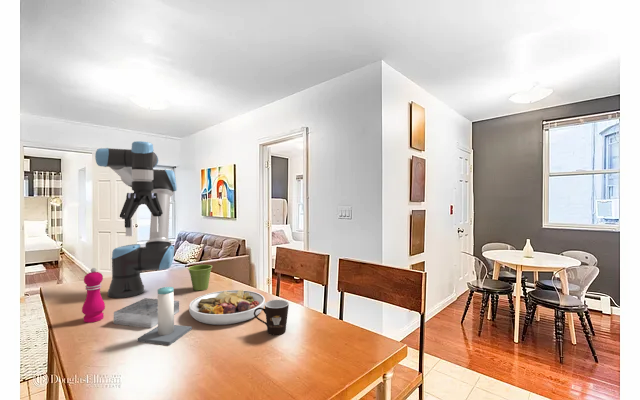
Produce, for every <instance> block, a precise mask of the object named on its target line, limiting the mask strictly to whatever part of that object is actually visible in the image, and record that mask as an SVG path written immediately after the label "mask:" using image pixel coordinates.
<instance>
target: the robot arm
mask: <svg viewBox="0 0 640 400" xmlns="http://www.w3.org/2000/svg"><path fill="white" fill-rule="evenodd" d="M94 157H95V158H94V159H95V163H96V165H97V166H98V167H103V168H110V169H111V170H112V171H113V172H114V173H116V175H117V176H119V177H120V179H121V181H122V183H123V184H125V186H128V187H130V188H131V190H132V191H133V192H127V193H126V197H125V201H124V203H123V206H122V209H121V211H120V214H119V217H120V218H121V219H122V220H124V228H125V237H134V219H133V217H134V215H135V213H136V211H137V210H138V208H139V207H140V206H142V205H146V207H147V209H148V210H149V212H150V227H149V239H148V240H147V241H146V242H145V246H141V245H140V243H135V244H127V245H121V246H118V247H115V248H114V249H113V250H112V254H111V281H110V284H109V288H108V289H107V297H108V298H112V299H120V298H121V299H123V298H130V297H134V296H139V295H140V294H143V293H144V292H145V286H144V284H143V280H142V277H141V272H144V271H146V272H147V271H162V270H168V269H170V268H171V267H172V264H173V260H174V257H175V256H174V255H175V246H174V245H172V242H171V241H170V240H169V232H170V229H169V228H170V225H169V224H170V211H171V210H170V209H171V208H170V207H171V197H172V196H173V195H174V192H177V190H178V189H177V188H178V186H177V180H176V174H175V171H174V170H172V169H157V168H156V169H154V168H155V167H156V166H157V165H158V163H159V156H158V154H157V153H155V152H154V144H153V143H151V142H148V141H142V140H141V141H133V142H132V143H131V149H129V148H126V149H123V148H109V147H105V148H102V147H101V148H97V149H96V151H95V154H94Z"/></svg>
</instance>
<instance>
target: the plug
mask: <svg viewBox="0 0 640 400" xmlns="http://www.w3.org/2000/svg"><path fill="white" fill-rule="evenodd" d="M174 290H175V289H174V287H173V286H165V287H160V288H158V289H157V299H158V324H157V327H158V334H159V335H168V334H171V333H173V332H174V325H175V314H174V301H175V299H174V298H175V296H174V295H175V294H174V292H175V291H174Z"/></svg>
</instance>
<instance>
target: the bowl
mask: <svg viewBox="0 0 640 400" xmlns="http://www.w3.org/2000/svg"><path fill="white" fill-rule="evenodd" d="M265 303H266V298H265V296H264V295H262V294H261V293H259V292H256V291H253V290H252V291H251V290H244V289H232V290H231V289H230V290H229V289H226V290H219V291H213V292H209V293H207V294H206V293H205V294H203V295H200V296H198V297H196V298H194V299H193V300H191V301H190V302H189V305H188V310H189V314H190V316H191V317H192V318H193V319H195V320H196V321H197V322H200V323H202V324H205V325H214V326H225V325H233V324H239V323H242V322H246V321H249V320H251V319H253V318H256V317H255V316H254V311H255V309H256V308H259V307H261V308H264V309H265ZM262 311H263V310H261V309H258V310H257V311H256V312H255V314H256V316H258V315H259V314H260V313H261V312H262Z"/></svg>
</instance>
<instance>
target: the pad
mask: <svg viewBox="0 0 640 400" xmlns="http://www.w3.org/2000/svg"><path fill="white" fill-rule="evenodd" d="M192 329H193V326H189V325H179V324H174V332H173V333H171V334H168V335H159V334H158V326H156V327H154V328H152V329H151V330H149V331H147V332H145V333H144V334H143V335H141V336H138V337H137V342H141V343H150V344H158V345H167V346H171V345H172V344H173V343H175V342H176V341H178V340H179V339H180V338H182V337H183V336H184V335H186V334H187V333H189V332H190V331H191V330H192Z"/></svg>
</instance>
